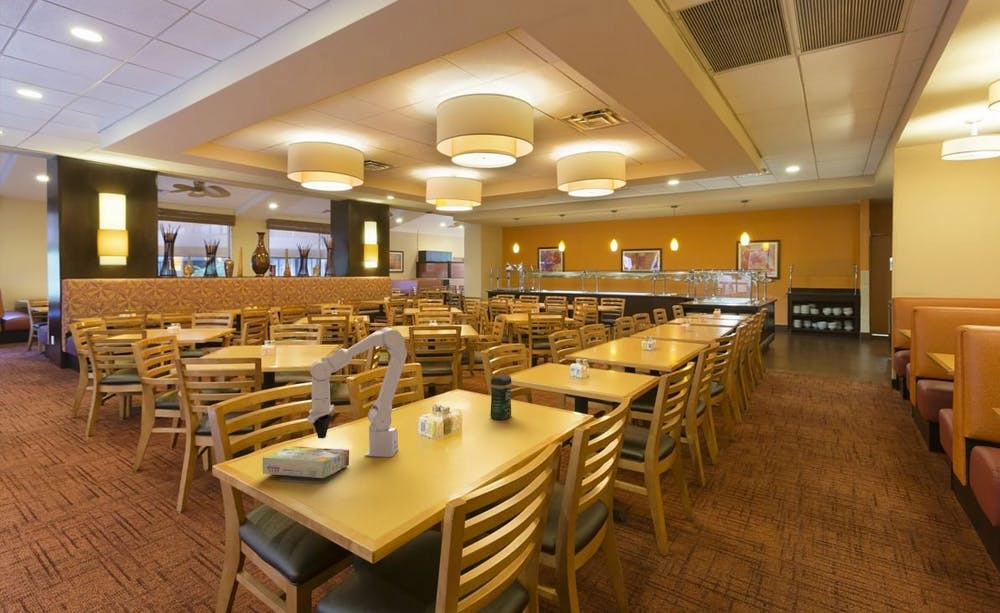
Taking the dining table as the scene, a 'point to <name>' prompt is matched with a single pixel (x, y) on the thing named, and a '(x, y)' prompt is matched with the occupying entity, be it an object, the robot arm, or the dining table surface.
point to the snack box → (306, 462)
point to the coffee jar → (501, 397)
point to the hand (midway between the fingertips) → (321, 437)
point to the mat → (306, 479)
